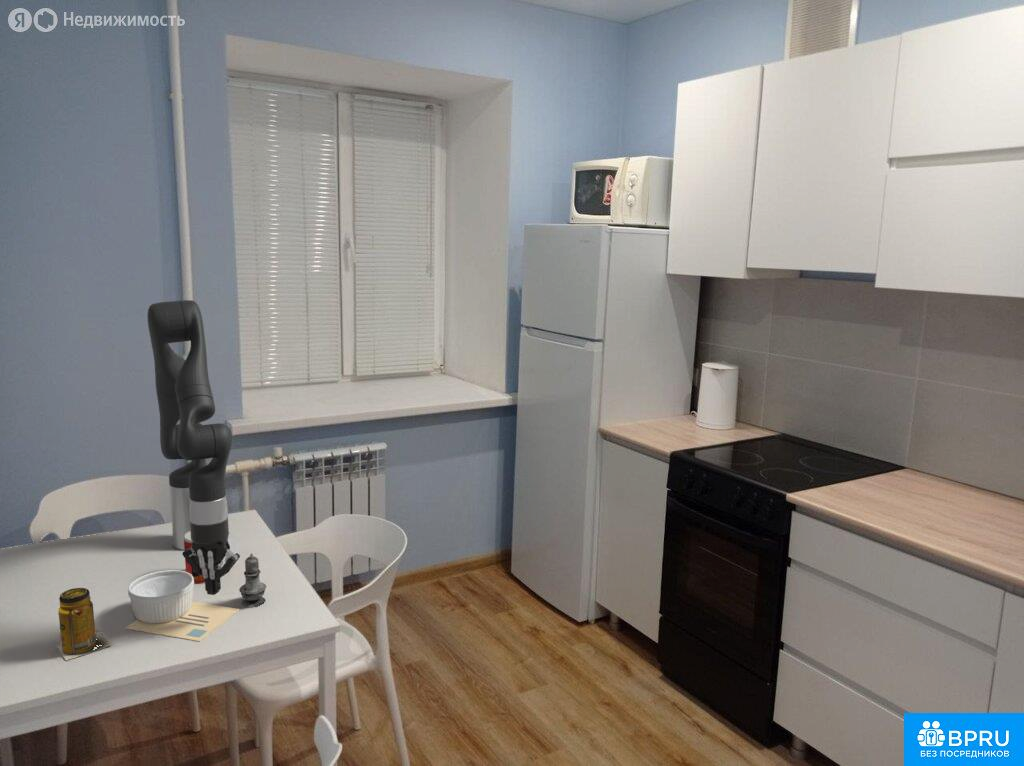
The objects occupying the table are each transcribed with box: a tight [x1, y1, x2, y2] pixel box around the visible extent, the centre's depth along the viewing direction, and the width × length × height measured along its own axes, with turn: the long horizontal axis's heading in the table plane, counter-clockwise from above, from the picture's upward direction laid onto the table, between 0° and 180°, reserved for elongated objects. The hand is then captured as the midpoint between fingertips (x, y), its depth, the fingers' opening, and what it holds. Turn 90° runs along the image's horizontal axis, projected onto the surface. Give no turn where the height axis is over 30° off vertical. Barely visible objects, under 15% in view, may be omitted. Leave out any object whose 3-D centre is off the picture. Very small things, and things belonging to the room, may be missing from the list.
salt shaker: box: [238, 553, 267, 609], centre depth 171 cm, size 6×6×12 cm
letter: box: [125, 601, 240, 642], centre depth 164 cm, size 14×18×1 cm
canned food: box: [183, 531, 205, 584], centre depth 184 cm, size 8×8×11 cm
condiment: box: [56, 587, 113, 661], centre depth 152 cm, size 7×8×12 cm
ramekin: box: [127, 569, 195, 623], centre depth 166 cm, size 13×13×7 cm
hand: (213, 593), depth 162 cm, fingers closed
